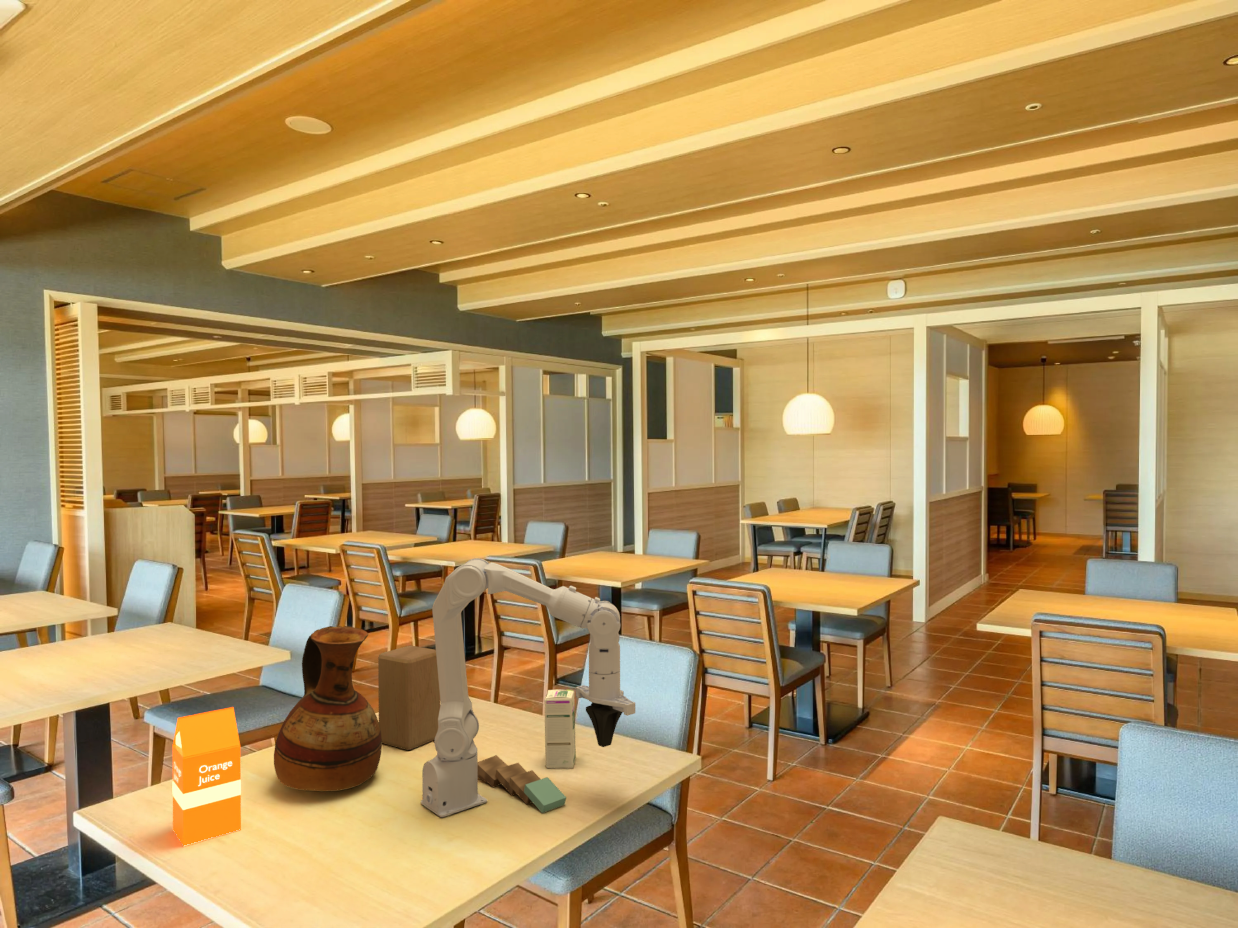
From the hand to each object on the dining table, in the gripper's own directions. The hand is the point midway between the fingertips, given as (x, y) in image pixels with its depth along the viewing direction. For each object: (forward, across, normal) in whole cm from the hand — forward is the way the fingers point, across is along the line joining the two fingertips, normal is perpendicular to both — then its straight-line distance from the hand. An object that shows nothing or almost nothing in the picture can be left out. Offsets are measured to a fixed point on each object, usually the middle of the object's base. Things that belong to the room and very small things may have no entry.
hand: (604, 744), depth 141 cm
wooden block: (+11, +53, +12) cm, 55 cm away
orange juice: (+11, +37, +57) cm, 69 cm away
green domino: (+10, +4, +9) cm, 14 cm away
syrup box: (+11, +20, -5) cm, 23 cm away
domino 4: (+10, +9, +9) cm, 16 cm away
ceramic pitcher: (+11, +43, +34) cm, 56 cm away
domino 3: (+10, +14, +8) cm, 19 cm away
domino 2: (+10, +19, +9) cm, 23 cm away
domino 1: (+10, +22, +9) cm, 26 cm away
